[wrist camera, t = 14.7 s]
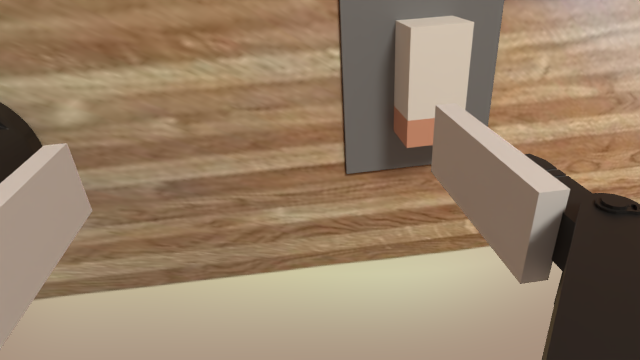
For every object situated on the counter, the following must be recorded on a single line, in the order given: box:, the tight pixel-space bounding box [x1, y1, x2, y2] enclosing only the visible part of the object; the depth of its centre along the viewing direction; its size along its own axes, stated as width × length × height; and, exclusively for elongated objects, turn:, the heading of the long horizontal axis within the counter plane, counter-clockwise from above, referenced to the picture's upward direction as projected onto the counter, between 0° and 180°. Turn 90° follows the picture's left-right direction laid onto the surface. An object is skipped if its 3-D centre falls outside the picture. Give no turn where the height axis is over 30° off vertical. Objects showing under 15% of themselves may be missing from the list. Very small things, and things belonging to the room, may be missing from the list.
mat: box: [339, 0, 504, 174], centre depth 46 cm, size 17×22×1 cm
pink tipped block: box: [394, 16, 474, 148], centre depth 44 cm, size 12×6×5 cm, turn 4°
